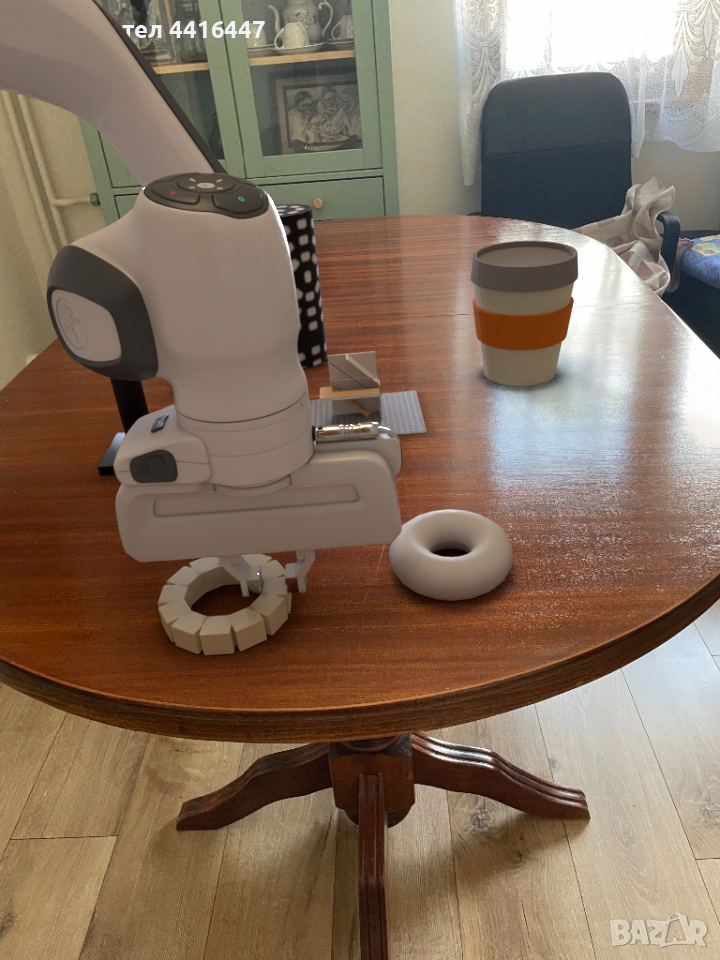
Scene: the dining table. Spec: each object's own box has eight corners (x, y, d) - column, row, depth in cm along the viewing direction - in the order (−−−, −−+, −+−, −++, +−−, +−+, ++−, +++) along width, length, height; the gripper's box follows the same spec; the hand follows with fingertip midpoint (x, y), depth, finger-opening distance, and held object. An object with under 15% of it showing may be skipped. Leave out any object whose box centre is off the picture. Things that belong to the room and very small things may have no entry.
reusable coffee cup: (452, 365, 96) (451, 250, 89) (534, 347, 100) (540, 235, 92) (501, 400, 86) (505, 274, 78) (591, 378, 89) (603, 255, 82)
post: (99, 475, 78) (59, 342, 70) (118, 440, 85) (84, 315, 77) (173, 469, 78) (141, 335, 70) (186, 434, 85) (158, 309, 77)
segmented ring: (151, 659, 53) (145, 639, 52) (177, 574, 62) (173, 555, 61) (287, 650, 53) (283, 629, 52) (294, 565, 62) (291, 546, 61)
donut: (522, 545, 62) (411, 525, 65) (525, 511, 60) (410, 493, 64) (497, 622, 54) (372, 595, 57) (499, 586, 52) (370, 560, 56)
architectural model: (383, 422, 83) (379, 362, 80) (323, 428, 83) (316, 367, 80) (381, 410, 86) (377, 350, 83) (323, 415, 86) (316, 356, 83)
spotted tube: (256, 361, 103) (233, 214, 93) (300, 343, 108) (283, 201, 98) (295, 374, 98) (275, 220, 87) (339, 355, 103) (325, 207, 92)
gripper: (397, 400, 52) (405, 555, 59) (113, 422, 52) (155, 573, 59) (404, 442, 47) (411, 607, 54) (87, 466, 47) (137, 627, 54)
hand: (275, 589), depth 57 cm, fingers closed on segmented ring, 2 cm apart
